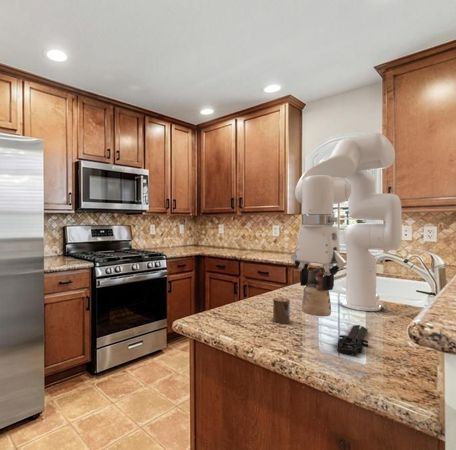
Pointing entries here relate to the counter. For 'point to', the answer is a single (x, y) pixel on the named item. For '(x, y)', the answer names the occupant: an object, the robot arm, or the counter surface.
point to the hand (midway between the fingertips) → (316, 286)
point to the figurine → (316, 295)
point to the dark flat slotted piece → (350, 336)
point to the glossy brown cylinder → (281, 310)
